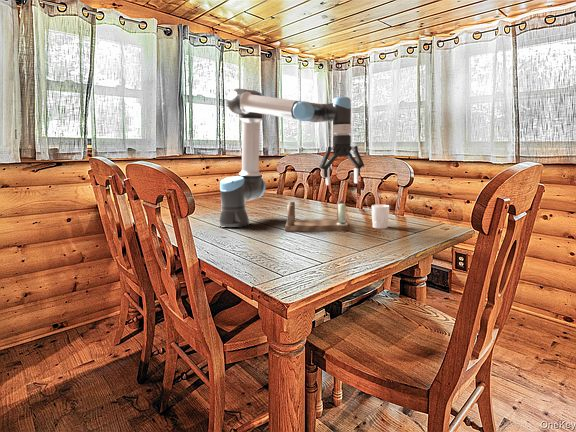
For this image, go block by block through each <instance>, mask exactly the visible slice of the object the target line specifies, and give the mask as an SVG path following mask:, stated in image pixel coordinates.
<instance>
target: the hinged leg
mask: <svg viewBox="0 0 576 432" xmlns="http://www.w3.org/2000/svg"><path fill="white" fill-rule="evenodd" d="M346 207H347V206H346V203H344V204H338V222H340V224H344V222H346V221H347V218H346V215H347V214H346V211H347V210H346Z"/></svg>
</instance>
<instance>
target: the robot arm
mask: <svg viewBox="0 0 576 432" xmlns="http://www.w3.org/2000/svg"><path fill="white" fill-rule="evenodd" d="M332 99H333V100H332V102H331V103H316V102H309V101H303V100H302V101H301V100H295V99H294V100H293V99H286V98H281V97H279V98H278V97H273V96H272V97H271V96H267V95H266V96H265V95H264V94H263V93H261V92H260V91H257V90H252V89H251V90H250V89H245V88H235V89H232V90H231V91H230V92H229V94H228V95H227V96H226V104H227V107H228V109H229V110H230V111H231V112H232V113H234V114H236V115H238V119H239V120H240V121H241V170H240V172H238V175H236V176H235V175H234V176H229V177H225V178H223V179H221V180H220V182H219V191H220V203H221V204H220V206H221V211H220V215H219V220H218V226H219V225H221V226H225V227H240V228H243V227H242V226H245V227H248V226H250V225H251V220H250V218H249V215H248V211H247V209H246V202H248V201H249V202H250V201H255V200H257V199H260V198H261V197H262V196H263V195H264V194H265V191H266V187H267V186H266V182H265V180H264V179H263V178H262V177H263V176H262V175H263V174H262V172H260V168H259V167H260V166H259V165H260V163H259V161H260V123H261V121H262V120H263V115H266V116H273V117H278V118H287V119H291V120H292V119H294V120H296V121H301V122H309V123H310V122H311V123H321V122H322V123H323V122H325V123H326V122H332V126H333V127H332V134H333V138H332V139H333V140H332V144H333V146H326V147H325V153H324V155H323V158H322V160H321V162H320V164H319V169H321V170H323V177H324V178H325V185H326V186H330V181H331V180H330V179H331V178H330V177H331V176H330V169H329V168H331V166H332V164H333V163H334V161H336V159H337V158H338V157H339V158H342V157H345V158H348V159H349V161H350V162H351V163H352V164H353V166H354V167H355V168H353V183H354V184H359V176H361V168H362V167H363V168H364V167H365V164H364V161H363V159H362V157H361V155H360V153H359V149H358V146H357V145H351V144H352V143H351V142H352V136H351V135H350V134H351V133H352V123H351V122H352V121H351V119H352V104H351V103H352V101H351V100H352V99H351V98H350V97H347V96H338V97H334V98H332ZM332 151H333V153H332V155H331V152H332ZM351 151H352V152H353V154H354V156H353V155H352V153H351ZM330 155H331V157H330ZM329 157H330V158H329ZM354 157H355V158H354ZM328 159H329V160H328ZM249 224H250V225H249ZM247 225H248V226H247Z"/></svg>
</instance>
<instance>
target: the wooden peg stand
mask: <svg viewBox="0 0 576 432" xmlns="http://www.w3.org/2000/svg"><path fill="white" fill-rule="evenodd" d="M336 203H337V205H336V207H337V208H336V211H337V213H336V214H337V215H336V216H337V218H333V219H331V218H330V219H296V208H295V207H296V203H295V201H288V204H287V208H286V209H287V210H286V211H287V212H286V213H287V219H286V223H285V226H284V227H285V232H286V233H287V232H288V233H289V232H336V231H338V232H339V231H344V232H345V231H346V232H347V231H349V224H348V222H347V220H346V222H344V224H340V222H338V204H345V203H344V200H337V202H336Z"/></svg>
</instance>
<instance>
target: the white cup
mask: <svg viewBox="0 0 576 432" xmlns="http://www.w3.org/2000/svg"><path fill="white" fill-rule="evenodd" d="M389 215H390V205H389V204H382V203H381V204H380V203H379V204H372V205H371V219H372V220H371V223H372V228H374V229H377V230H378V229H381V230H383V229H387V228H389V218H390V217H389Z"/></svg>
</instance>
